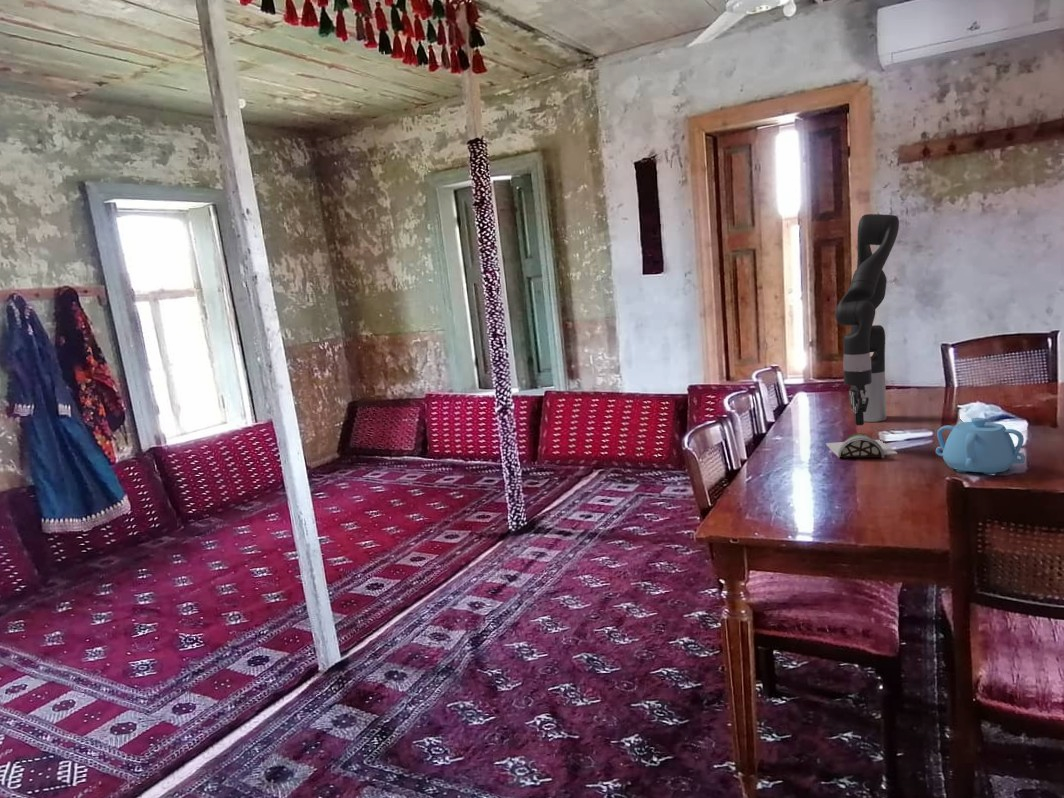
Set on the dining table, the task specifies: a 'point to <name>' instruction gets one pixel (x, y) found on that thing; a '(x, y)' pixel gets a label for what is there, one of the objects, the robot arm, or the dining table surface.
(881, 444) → the mat
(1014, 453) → the decorative pot
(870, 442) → the food container
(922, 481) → the dining table surface
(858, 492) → the dining table surface
